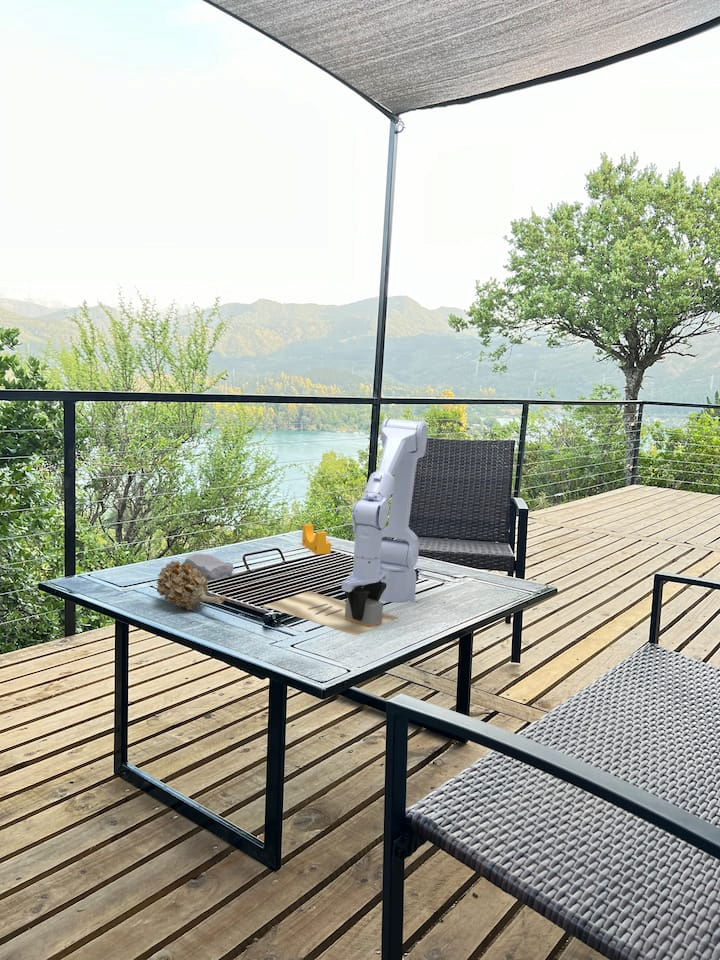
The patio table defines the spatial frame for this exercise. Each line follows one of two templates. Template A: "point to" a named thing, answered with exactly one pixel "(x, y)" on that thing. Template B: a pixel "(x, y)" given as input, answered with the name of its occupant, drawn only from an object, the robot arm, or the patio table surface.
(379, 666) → the patio table surface
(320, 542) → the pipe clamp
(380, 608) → the block
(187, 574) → the dried flower head
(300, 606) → the board
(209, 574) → the stone block
